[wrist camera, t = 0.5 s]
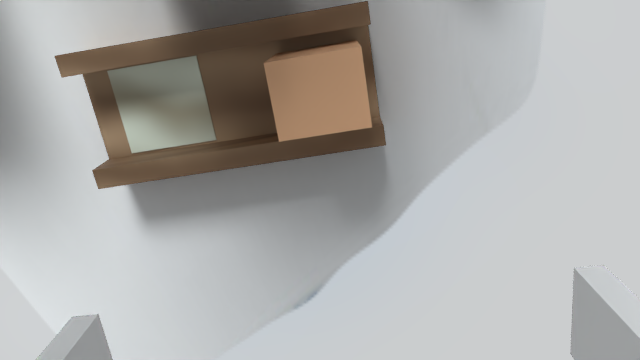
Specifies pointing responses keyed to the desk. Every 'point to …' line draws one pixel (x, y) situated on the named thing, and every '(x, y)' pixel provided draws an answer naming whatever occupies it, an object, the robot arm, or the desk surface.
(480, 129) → the desk surface
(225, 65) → the chute
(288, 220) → the desk surface
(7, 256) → the desk surface
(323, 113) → the block
